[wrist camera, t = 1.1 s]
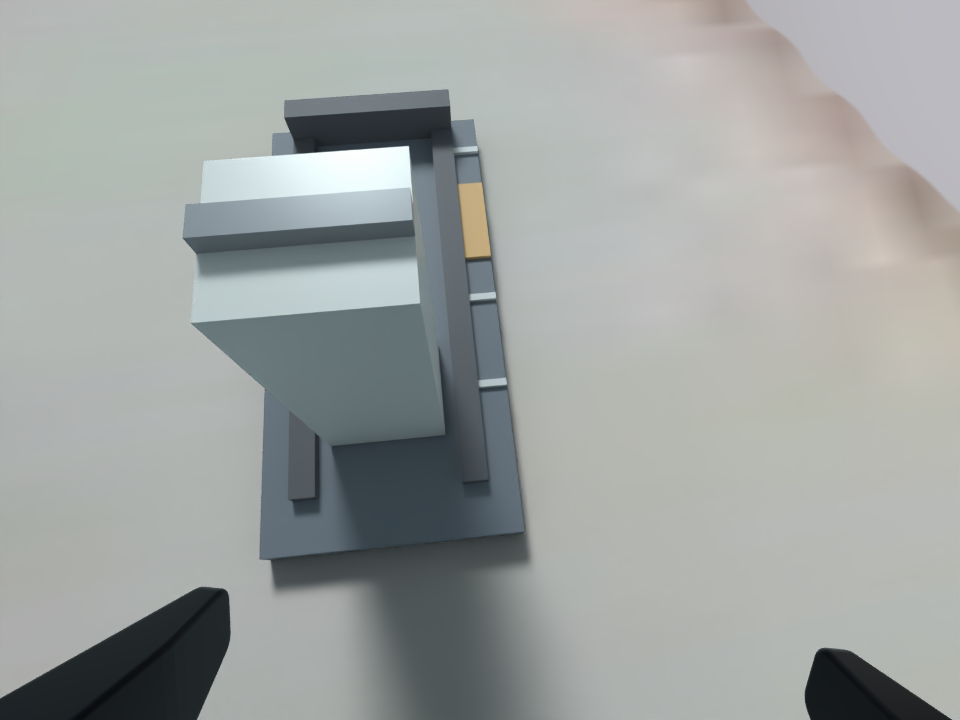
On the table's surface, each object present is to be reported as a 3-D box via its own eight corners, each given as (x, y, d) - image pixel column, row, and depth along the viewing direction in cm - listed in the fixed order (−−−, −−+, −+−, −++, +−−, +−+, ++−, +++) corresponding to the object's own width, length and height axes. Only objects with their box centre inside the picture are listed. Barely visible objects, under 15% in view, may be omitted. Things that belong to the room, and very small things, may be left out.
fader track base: (522, 533, 23) (529, 527, 20) (270, 560, 22) (239, 558, 19) (473, 136, 30) (473, 87, 27) (280, 150, 29) (258, 102, 26)
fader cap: (445, 435, 23) (417, 289, 11) (330, 446, 23) (175, 310, 11) (438, 343, 24) (405, 126, 12) (329, 352, 24) (191, 142, 12)
